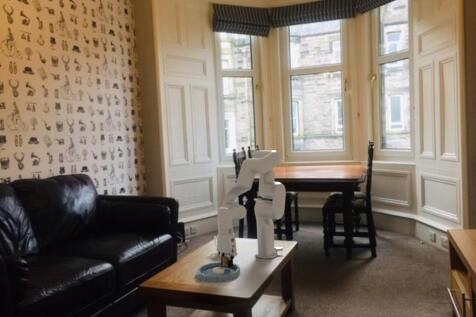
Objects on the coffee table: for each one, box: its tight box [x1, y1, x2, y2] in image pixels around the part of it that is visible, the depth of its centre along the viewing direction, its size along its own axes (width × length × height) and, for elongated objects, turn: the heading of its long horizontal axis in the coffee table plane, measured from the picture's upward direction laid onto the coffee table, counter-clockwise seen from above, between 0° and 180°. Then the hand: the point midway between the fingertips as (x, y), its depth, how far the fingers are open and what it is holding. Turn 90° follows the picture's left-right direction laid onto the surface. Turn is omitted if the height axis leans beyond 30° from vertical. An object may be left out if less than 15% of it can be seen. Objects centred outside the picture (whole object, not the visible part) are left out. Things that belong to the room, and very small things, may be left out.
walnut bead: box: [222, 254, 231, 268], centre depth 209 cm, size 4×4×5 cm
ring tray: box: [196, 261, 241, 283], centre depth 205 cm, size 21×21×3 cm
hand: (227, 265), depth 209 cm, fingers closed on walnut bead, 4 cm apart
